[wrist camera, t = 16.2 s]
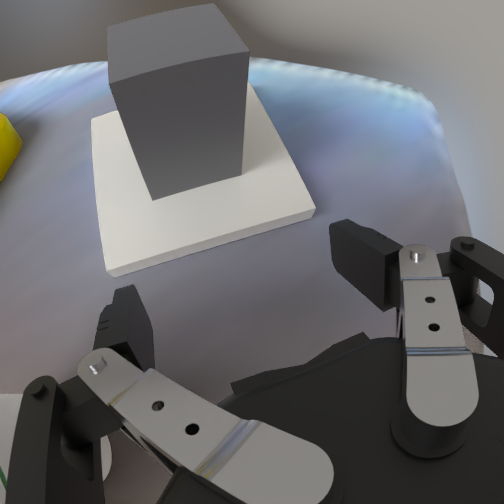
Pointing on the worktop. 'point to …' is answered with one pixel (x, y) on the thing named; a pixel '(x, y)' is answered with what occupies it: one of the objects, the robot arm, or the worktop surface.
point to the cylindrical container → (3, 427)
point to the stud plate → (192, 197)
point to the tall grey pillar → (181, 96)
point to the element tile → (8, 145)
